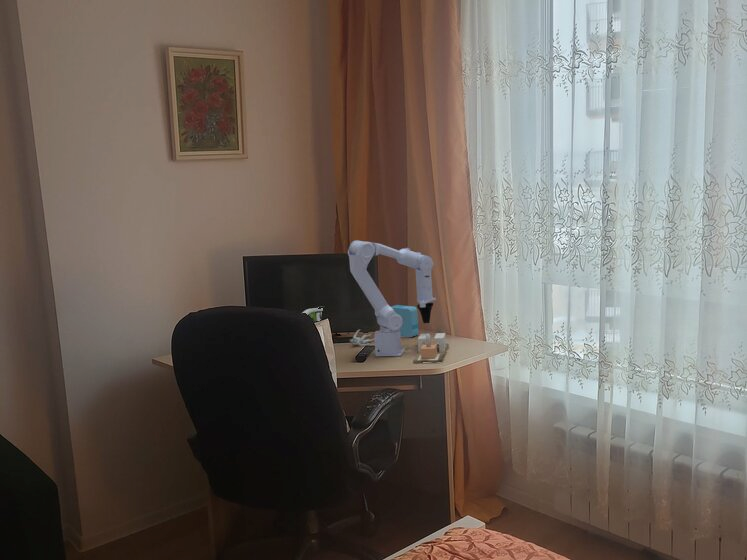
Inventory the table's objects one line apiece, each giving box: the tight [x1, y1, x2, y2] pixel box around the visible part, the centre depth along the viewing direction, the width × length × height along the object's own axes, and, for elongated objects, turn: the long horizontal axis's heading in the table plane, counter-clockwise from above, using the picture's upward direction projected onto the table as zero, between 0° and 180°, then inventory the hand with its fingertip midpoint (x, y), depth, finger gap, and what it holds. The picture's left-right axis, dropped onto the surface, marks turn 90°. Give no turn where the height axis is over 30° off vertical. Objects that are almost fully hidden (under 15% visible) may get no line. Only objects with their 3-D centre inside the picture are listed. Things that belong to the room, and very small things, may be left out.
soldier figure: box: [348, 329, 375, 347], centre depth 297 cm, size 8×5×12 cm
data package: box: [390, 304, 420, 338], centre depth 307 cm, size 12×4×12 cm, turn 48°
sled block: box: [420, 333, 438, 359], centre depth 267 cm, size 5×6×8 cm
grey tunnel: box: [417, 332, 447, 353], centre depth 277 cm, size 9×8×5 cm
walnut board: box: [412, 343, 449, 364], centre depth 274 cm, size 10×24×1 cm, turn 169°
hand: (426, 322), depth 284 cm, fingers closed
